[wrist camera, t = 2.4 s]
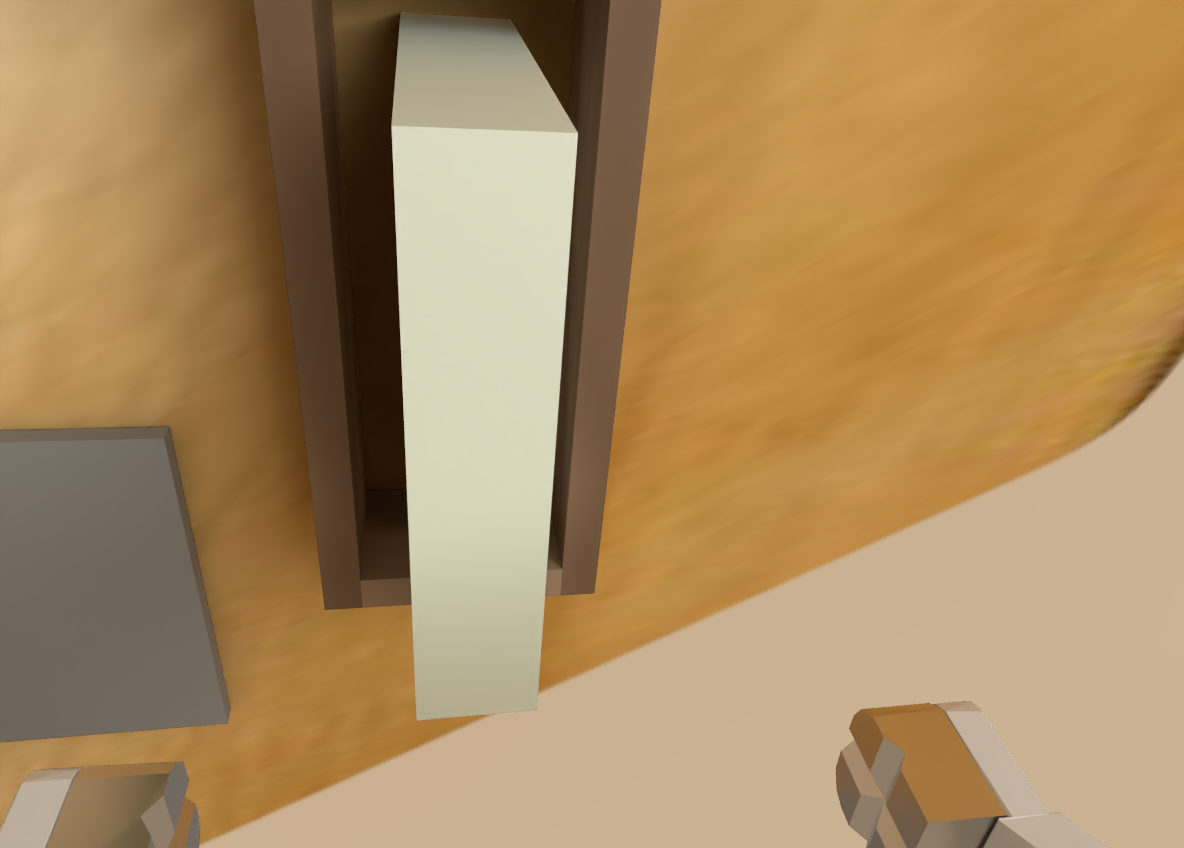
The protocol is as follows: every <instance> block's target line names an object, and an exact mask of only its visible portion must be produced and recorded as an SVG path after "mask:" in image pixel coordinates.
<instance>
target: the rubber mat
mask: <svg viewBox="0 0 1184 848" xmlns="http://www.w3.org/2000/svg"><path fill="white" fill-rule="evenodd" d="M230 710H231V709H230V704H229V700H228V695H227V691H226V686H225V681H224V677H223V672H222V668H221V663H220V658H219V654H218V649H217V645H216V640H215V635H214V631H213V626H212V622H211V617H210V612H209V608H208V603H207V599H206V594H205V589H204V585H203V580H202V576H201V571H200V566H199V562H198V557H197V552H196V548H195V543H194V539H193V534H192V529H191V525H190V520H189V516H188V511H187V506H186V502H185V497H184V493H183V488H182V483H181V479H180V474H179V470H178V465H177V460H176V456H175V451H174V447H173V442H172V437H171V433H170V428H169V427H129V428H84V429H40V430H0V742H11V741H23V740H35V739H47V738H59V737H71V736H83V735H95V734H107V733H119V732H131V731H143V730H155V729H167V728H179V727H191V726H203V725H215V724H227V723H228V719H229V715H230Z"/></svg>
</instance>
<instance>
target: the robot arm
mask: <svg viewBox="0 0 1184 848" xmlns="http://www.w3.org/2000/svg"><path fill="white" fill-rule="evenodd" d="M849 729H850V731H851V733H852V735H853V737H854V739H855V740H854V741H852V742H851V743H850V744H849V745H848V746H846V747H845V748H844V749H843V750H841V752H840V756H839V759H838V763H837V766H836V785H837V793H838V797H839V800H840V804H841V808H842V810H843V813H844V815H845V817H846V820H847V822H848V825H849V826H850V827H851V828H852V829H854V830H855V831H856V832H857V833H859V834H860V835H861V836H862V837H863V838H864V839H866V840H867V846H866V848H1110V847H1109V846H1107V845H1106V844H1104V843H1103V842H1102V841H1100V840H1098V839H1097V838H1096V837H1094V836H1093V835H1091V834H1090V833H1089V832H1087V831H1086V830H1084V829H1083V828H1081V827H1080V826H1079V825H1077V824H1076V823H1074V822H1073V821H1072V820H1070V819H1069V818H1067V817H1066V816H1064V815H1063V814H1062V813H1060V812H1056V813H1049V812H1048V811H1047V809H1046V808H1045V806H1044V804H1043V803H1042V801H1041V800H1040V798H1039V797H1038V795H1037V794H1036V792H1035V791H1034V789H1033V788H1032V786H1031V785H1030V783H1029V782H1028V780H1027V779H1026V777H1025V776H1024V774H1023V773H1022V771H1021V770H1020V768H1019V767H1018V765H1017V763H1016V762H1015V761H1014V759H1013V757H1012V756H1011V754H1010V753H1009V751H1008V750H1007V748H1006V747H1005V745H1004V744H1003V742H1002V741H1001V740H1000V738H999V736H998V735H997V733H996V732H995V730H994V729H993V727H992V726H991V724H990V723H989V721H988V719H987V718H986V717H985V715H984V713H983V712H982V710H981V709H980V708H979V707H977V706H976V705H975V704H974V703H972V702H971V701H970V702H969V701H962V702H951V703H939V704H930V703H926V704H914V705H904V706H892V707H881V708H870V709H861V710H860V711H859V712H858V713H856V714H855V715H854V717H853V719H852V722H851V725H850V728H849ZM188 782H189V778H188V775H187V772H186V769H185V766H184V763H183V761H182V762H164V763H145V764H127V765H108V766H89V767H70V768H56V769H42V770H33V771H32V772H31V773H30V774H29V775H28V777H27V778H26V779H25V780H24V781H23V782H22V784H21V785H20V786H19V788H18V791H17V793H16V795H15V797H14V799H13V801H12V804H11V806H10V808H9V810H8V812H7V814H6V817H5V819H4V821H3V823H2V825H1V828H0V848H199V844H200V826H199V816H198V812H197V808H196V804H195V803H193V802H191V801H190V800H188V799H187V798H185V793H186V789H187V786H188Z"/></svg>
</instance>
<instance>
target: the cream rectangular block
mask: <svg viewBox="0 0 1184 848" xmlns="http://www.w3.org/2000/svg"><path fill="white" fill-rule="evenodd" d="M391 126H392V150H393V174H394V197H395V221H396V244H397V268H398V292H399V315H400V339H401V362H402V386H403V410H404V433H405V457H406V480H407V504H408V528H409V551H410V575H411V598H412V622H413V646H414V669H415V693H416V716H417V720H428V719H439V718H451V717H462V716H474V715H485V714H496V713H508V712H519V711H530V710H537V700H538V686H539V672H540V658H541V644H542V630H543V616H544V602H545V588H546V574H547V560H548V546H549V532H550V518H551V504H552V490H553V476H554V462H555V448H556V434H557V420H558V406H559V392H560V378H561V364H562V350H563V336H564V322H565V308H566V294H567V280H568V266H569V252H570V238H571V224H572V210H573V196H574V182H575V168H576V154H577V140H578V132H577V131H576V129H575V127H574V126H573V124H572V122H571V120H570V119H569V117H568V115H567V114H566V112H565V110H564V109H563V107H562V105H561V104H560V102H559V100H558V98H557V97H556V95H555V93H554V92H553V90H552V88H551V87H550V85H549V83H548V82H547V80H546V78H545V77H544V75H543V73H542V71H541V70H540V68H539V66H538V65H537V63H536V61H535V60H534V58H533V56H532V55H531V53H530V51H529V49H528V48H527V46H526V44H525V43H524V41H523V39H522V38H521V36H520V34H519V33H518V31H517V29H516V27H515V26H514V24H513V22H512V21H511V19H498V18H482V17H466V16H451V15H435V14H419V13H404V12H401V14H400V26H399V39H398V51H397V63H396V76H395V88H394V101H393V113H392V125H391Z"/></svg>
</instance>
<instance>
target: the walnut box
mask: <svg viewBox="0 0 1184 848" xmlns="http://www.w3.org/2000/svg"><path fill="white" fill-rule="evenodd" d="M660 8H661V0H576V10H575V26H574V41H573V56H572V72H571V87H570V103H569V119H570V120H571V122H572V124H573V126H574V127H575V129H576V131H577V132H578V140H577V154H576V168H575V182H574V196H573V210H572V224H571V238H570V252H569V266H568V280H567V294H566V308H565V322H564V336H563V350H562V364H561V378H560V392H559V406H558V420H557V434H556V448H555V462H554V476H553V490H552V504H551V518H550V532H549V546H548V560H547V574H546V588H545V596H559V595H575V594H592V593H594V592H595V583H596V574H597V565H598V556H599V547H600V539H601V530H602V521H603V512H604V503H605V494H606V485H607V477H608V468H609V459H610V450H611V441H612V432H613V424H614V415H615V406H616V397H617V388H618V379H619V371H620V362H621V353H622V344H623V335H624V326H625V318H626V309H627V300H628V291H629V282H630V273H631V264H632V256H633V247H634V238H635V229H636V220H637V211H638V203H639V194H640V185H641V176H642V167H643V158H644V150H645V141H646V132H647V123H648V114H649V105H650V96H651V88H652V79H653V70H654V61H655V52H656V43H657V35H658V26H659V17H660ZM254 9H255V17H256V26H257V34H258V43H259V51H260V60H261V68H262V77H263V86H264V94H265V103H266V111H267V120H268V128H269V137H270V145H271V154H272V162H273V171H274V179H275V188H276V196H277V205H278V213H279V222H280V230H281V239H282V248H283V256H284V265H285V273H286V282H287V290H288V299H289V307H290V316H291V324H292V333H293V341H294V350H295V358H296V367H297V375H298V384H299V392H300V401H301V410H302V418H303V427H304V435H305V444H306V452H307V461H308V469H309V478H310V486H311V495H312V503H313V512H314V520H315V529H316V537H317V546H318V554H319V563H320V572H321V580H322V589H323V597H324V606H325V610H331V609H347V608H363V607H380V606H396V605H412V598H411V575H410V551H409V528H408V504H407V489H396V490H369V491H367V481H366V467H365V453H364V440H363V426H362V413H361V399H360V385H359V372H358V358H357V344H356V331H355V317H354V303H353V290H352V276H351V263H350V249H349V235H348V222H347V208H346V194H345V181H344V167H343V154H342V140H341V126H340V113H339V99H338V85H337V72H336V58H335V44H334V31H333V17H332V4H331V0H254Z"/></svg>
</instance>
